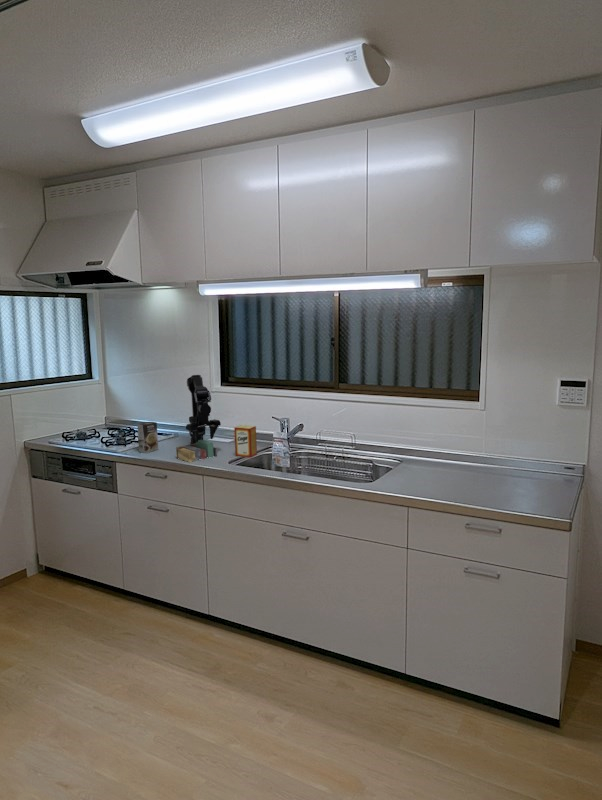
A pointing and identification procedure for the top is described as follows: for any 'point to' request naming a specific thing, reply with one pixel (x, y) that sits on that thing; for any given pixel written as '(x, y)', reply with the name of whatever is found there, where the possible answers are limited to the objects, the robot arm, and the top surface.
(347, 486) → the top surface
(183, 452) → the book rack
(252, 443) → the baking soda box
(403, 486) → the top surface
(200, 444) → the green book
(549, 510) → the top surface
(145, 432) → the coffee box
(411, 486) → the top surface
